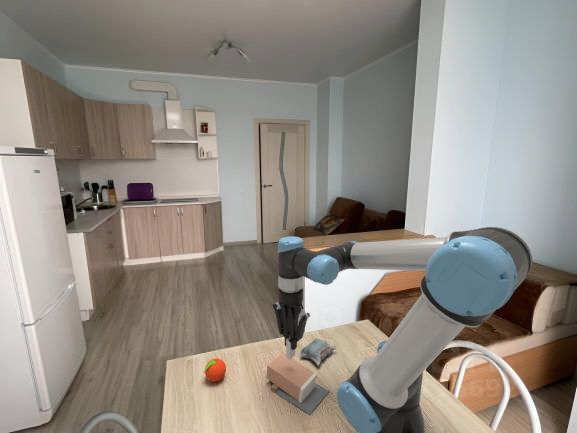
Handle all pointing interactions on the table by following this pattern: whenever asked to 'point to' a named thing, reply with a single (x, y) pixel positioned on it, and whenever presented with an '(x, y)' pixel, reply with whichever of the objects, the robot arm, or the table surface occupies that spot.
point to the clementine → (215, 369)
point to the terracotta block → (291, 377)
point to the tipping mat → (308, 402)
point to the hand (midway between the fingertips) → (290, 356)
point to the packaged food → (317, 350)
